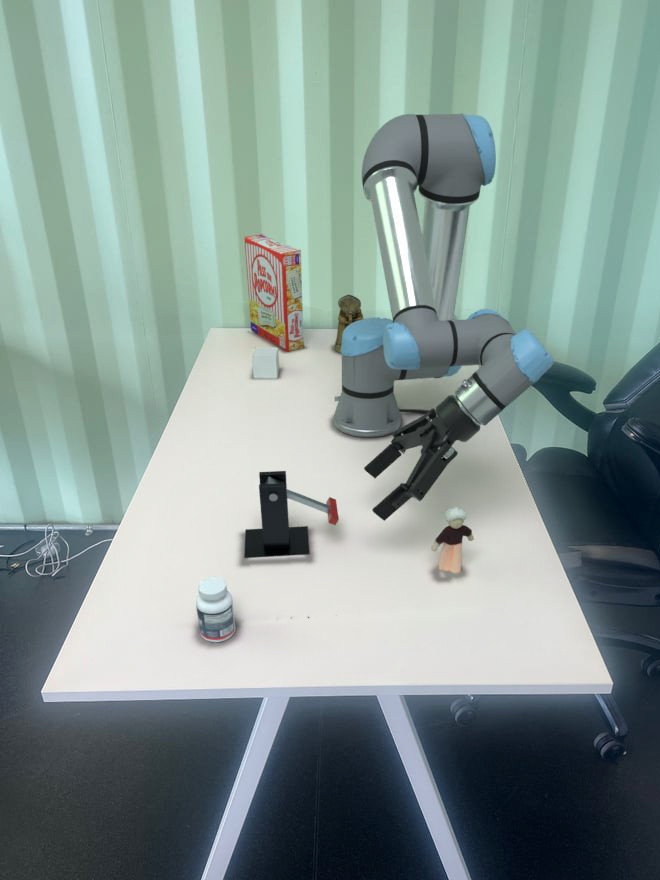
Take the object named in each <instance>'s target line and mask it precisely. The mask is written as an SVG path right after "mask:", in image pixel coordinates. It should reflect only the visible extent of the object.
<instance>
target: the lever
mask: <svg viewBox="0 0 660 880" xmlns="http://www.w3.org/2000/svg"><path fill="white" fill-rule="evenodd" d="M276 483H284V482H282V481H279V480H277V479H274V478H271V477H268V478H267V480H266V482H265V484H276ZM287 499H289V500H292V501H294V502H296V503H300V504H302V505H304V506H307V507H310V508H313V509H315V510H318V511H320V512H323V513H326V514H327V520H328V521H327V522H328V524H330V525H333V526H337V524H338V522H339V511H338V505H337V499H336V498H333V497H331V496H329V497H328V498H327V501H326V502H325V503H324V502H321V501H319V500H316V499H313V498H311V497H308V496H306V495H303V494H301V493H299V492H296V491H293V490H290V489H288V488H287Z"/></svg>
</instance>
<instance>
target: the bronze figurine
mask: <svg viewBox="0 0 660 880" xmlns="http://www.w3.org/2000/svg"><path fill="white" fill-rule="evenodd" d="M337 304H338V308H339V313H338V317H337V321H338V325H337V333H336V341H335V342H334V350H335V351H336V352H338V353H340V354H341V344H342V334H343V331H344V330H345V328H346V327H347V326H349V325H350V324H352V323H354V322H356V321H359V320H362V319H364V315H363V313H362V309H361V307H362V302H361V300H360V299H359V298H358V297H356V296H355V295H351V294H346V295H344V296H342V297H341V298H339V299H338V301H337Z"/></svg>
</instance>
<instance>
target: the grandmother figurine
mask: <svg viewBox="0 0 660 880" xmlns="http://www.w3.org/2000/svg"><path fill="white" fill-rule="evenodd" d="M466 519H467V513H466V511H465V510H464V509H461V508H460V507H457V506H453V507H451V508H448V509H447V511H446V512H445V521H446V522H447V524H448V525H447V526H445V527H444V528H443V529H442V531H441V532H440V533H439V534H438V536H436V538H435V540H434V541H433V544H432V546H431V547H430V549H431V551H432V552H436V551H437V550H438V548H439V547H440V546H441V544H443V545H442V548H441V552H440V555H439V562H438V569H439V571H445V572H450V573H453V574H459V573H461V571H462V549H463V548H462V547H463V539H464V537H467V540H468V541H469V542H473V541H474V539H475V537H474V535H473V530H472V528H470V527H469V526H467V525H465V524H464V521H465V520H466Z"/></svg>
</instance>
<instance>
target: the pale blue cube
mask: <svg viewBox="0 0 660 880" xmlns="http://www.w3.org/2000/svg"><path fill="white" fill-rule="evenodd" d="M251 360H252V361H251V362H252V372H253V379H278V376H279V372H280V356H279V347H260V346H259V347H257V346H256V347H254V349H253V351H252V355H251Z"/></svg>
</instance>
